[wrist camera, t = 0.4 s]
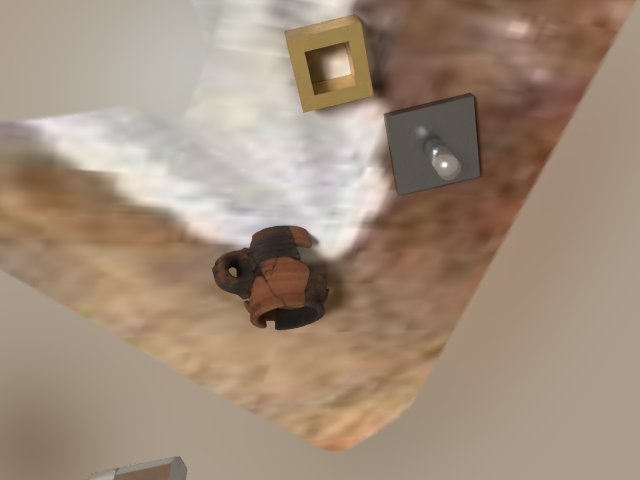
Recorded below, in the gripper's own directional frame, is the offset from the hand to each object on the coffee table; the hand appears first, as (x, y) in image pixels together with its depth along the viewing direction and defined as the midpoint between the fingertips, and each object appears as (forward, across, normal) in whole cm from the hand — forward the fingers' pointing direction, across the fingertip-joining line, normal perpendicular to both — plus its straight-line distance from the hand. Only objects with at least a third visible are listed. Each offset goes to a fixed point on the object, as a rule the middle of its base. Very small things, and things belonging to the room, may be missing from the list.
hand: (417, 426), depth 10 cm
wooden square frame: (+44, -2, +5) cm, 44 cm away
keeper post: (+44, -10, +14) cm, 48 cm away
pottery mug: (+44, +8, +23) cm, 51 cm away
